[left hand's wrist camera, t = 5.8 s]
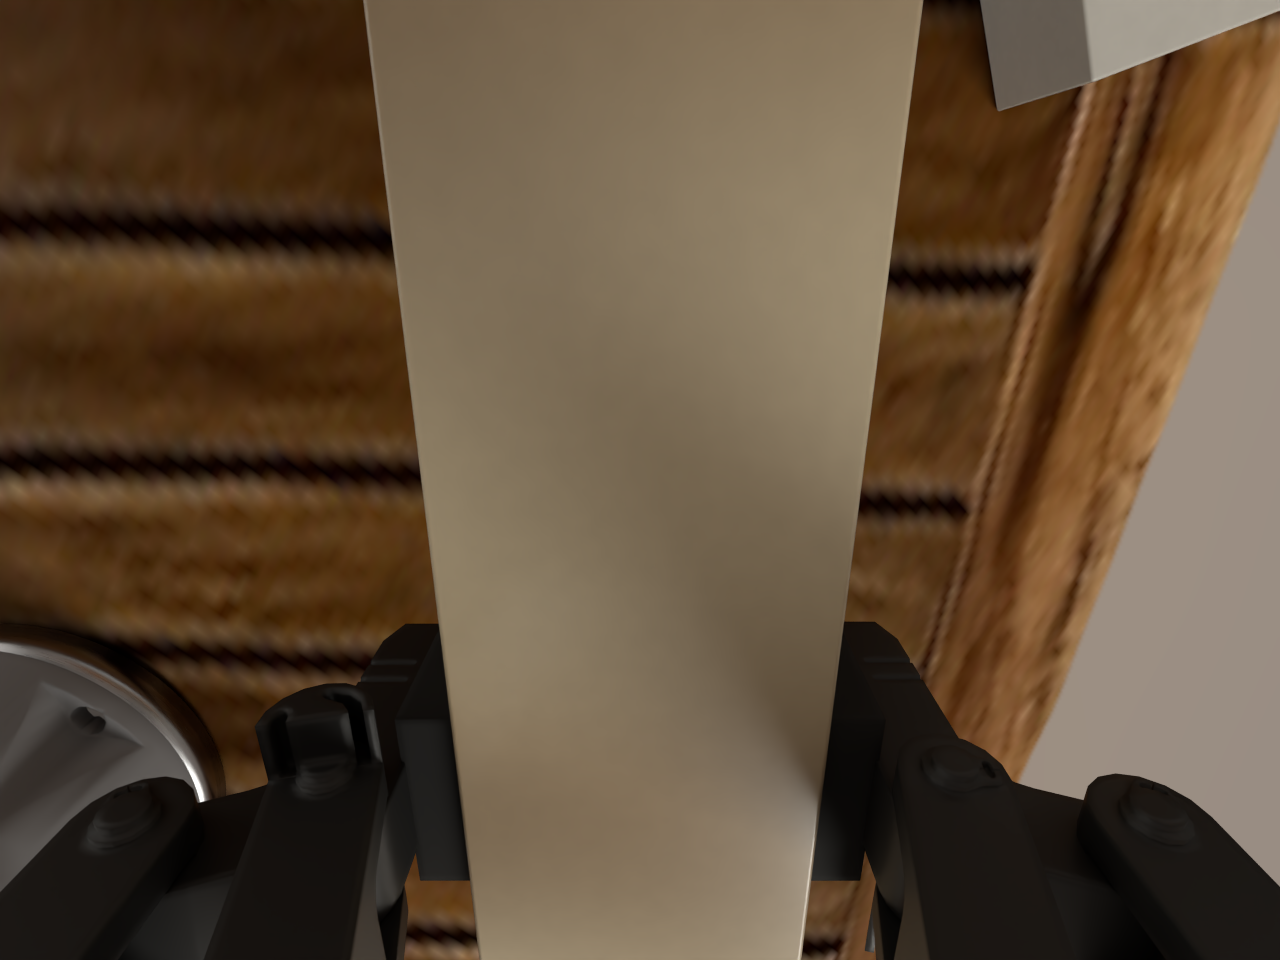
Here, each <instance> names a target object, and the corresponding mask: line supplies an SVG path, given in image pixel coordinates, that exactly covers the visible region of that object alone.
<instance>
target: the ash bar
mask: <svg viewBox="0 0 1280 960" xmlns="http://www.w3.org/2000/svg"><path fill="white" fill-rule="evenodd" d="M363 3H364V12H365V20H366V28H367V36H368V45H369V53H370V61H371V69H372V78H373V86H374V94H375V102H376V111H377V119H378V127H379V135H380V143H381V152H382V160H383V168H384V176H385V185H386V193H387V201H388V209H389V218H390V226H391V234H392V242H393V250H394V259H395V267H396V275H397V283H398V292H399V300H400V308H401V316H402V325H403V333H404V341H405V349H406V357H407V366H408V374H409V382H410V390H411V399H412V407H413V415H414V423H415V432H416V440H417V448H418V456H419V465H420V473H421V481H422V489H423V497H424V506H425V514H426V522H427V530H428V539H429V547H430V555H431V563H432V572H433V580H434V588H435V596H436V604H437V613H438V621H439V629H440V637H441V646H442V654H443V662H444V670H445V679H446V687H447V695H448V703H449V711H450V720H451V728H452V736H453V744H454V753H455V761H456V769H457V777H458V786H459V794H460V802H461V810H462V818H463V827H464V835H465V843H466V851H467V860H468V868H469V876H470V884H471V893H472V901H473V909H474V917H475V926H476V934H477V942H478V950H479V958H480V960H801V956H802V948H803V940H804V932H805V924H806V916H807V909H808V901H809V893H810V885H811V877H812V869H813V861H814V854H815V846H816V838H817V830H818V822H819V814H820V806H821V799H822V791H823V783H824V775H825V767H826V759H827V752H828V744H829V736H830V728H831V720H832V712H833V704H834V697H835V689H836V681H837V673H838V665H839V657H840V649H841V642H842V634H843V626H844V618H845V610H846V602H847V595H848V587H849V579H850V571H851V563H852V555H853V547H854V540H855V532H856V524H857V516H858V508H859V500H860V492H861V485H862V477H863V469H864V461H865V453H866V445H867V438H868V430H869V422H870V414H871V406H872V398H873V390H874V383H875V375H876V367H877V359H878V351H879V343H880V335H881V328H882V320H883V312H884V304H885V296H886V288H887V280H888V273H889V265H890V257H891V249H892V241H893V233H894V226H895V218H896V210H897V202H898V194H899V186H900V178H901V171H902V163H903V155H904V147H905V139H906V131H907V123H908V116H909V108H910V100H911V92H912V84H913V76H914V69H915V61H916V53H917V45H918V37H919V29H920V21H921V14H922V6H923V0H363Z"/></svg>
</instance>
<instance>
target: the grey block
mask: <svg viewBox="0 0 1280 960" xmlns="http://www.w3.org/2000/svg"><path fill="white" fill-rule="evenodd" d="M980 3H981V9H982V16H983V22H984V29H985V35H986V42H987V48H988V55H989V61H990V67H991V74H992V80H993V87H994V93H995V100H996V106H997V110H998V111H1001V110H1005V109H1008V108H1011V107H1014V106H1018V105H1021V104H1024V103H1027V102H1031V101H1034V100H1037V99H1040V98H1043V97H1047V96H1050V95H1053V94H1056V93H1060V92H1063V91H1066V90H1069V89H1073V88H1076V87H1079V86H1082V85H1085V84H1089V83H1092V82H1095V81H1098V80H1100V79H1103V78H1105V77H1108V76H1111V75H1113V74H1116V73H1118V72H1121V71H1124V70H1126V69H1129V68H1131V67H1134V66H1137V65H1139V64H1142V63H1145V62H1147V61H1150V60H1152V59H1155V58H1158V57H1160V56H1163V55H1165V54H1168V53H1171V52H1173V51H1176V50H1178V49H1181V48H1184V47H1186V46H1189V45H1192V44H1194V43H1197V42H1199V41H1202V40H1205V39H1207V38H1210V37H1212V36H1215V35H1218V34H1220V33H1223V32H1225V31H1228V30H1231V29H1233V28H1236V27H1238V26H1241V25H1244V24H1246V23H1249V22H1252V21H1254V20H1257V19H1259V18H1262V17H1265V16H1267V15H1270V14H1272V13H1275V12H1278V11H1280V0H980Z"/></svg>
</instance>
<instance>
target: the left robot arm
mask: <svg viewBox="0 0 1280 960" xmlns="http://www.w3.org/2000/svg"><path fill="white" fill-rule="evenodd" d="M255 729H256V733H257V737H258V741H259V745H260V749H261V753H262V757H263V761H264V765H265V769H266V773H267V777H268V784H267V785H265V786H261V787H258V788H255V789H252V790H249V791H245V792H241V793H237V794H232V795H228V796H226V783H225V775H224V771H223V766H222V763H221V760H220V757H219V754H218V751H217V749H216V747H215V745H214V743H213V741H212V739H211V737H210V735H209V734H208V732H207V730H206V729H205V727H204V726H203V724H202V723H201V722H200V720H199V719H198V717H197V716H196V715H195V713H194V712H193V711H192V710H191V709H190V708H189V707H188V705H187V704H186V703H185V702H184V701H183V700H182V699H181V698H180V697H179V696H178V695H177V694H176V693H175V692H174V691H173V690H172V689H171V688H169V687H168V686H167V685H166V684H165V683H163V682H162V681H161V680H160V679H159V678H157V677H156V676H154V675H153V674H152V673H150V672H149V671H147V670H146V669H145V668H143V667H142V666H140V665H138V664H137V663H135V662H133V661H132V660H130V659H129V658H127V657H125V656H123V655H121V654H119V653H117V652H115V651H113V650H111V649H109V648H107V647H105V646H102V645H100V644H98V643H95V642H93V641H90V640H87V639H85V638H82V637H79V636H76V635H73V634H69V633H65V632H62V631H58V630H54V629H49V628H44V627H39V626H30V625H22V624H0V960H404V952H405V941H406V930H407V919H408V905H407V898H406V892H405V886H404V884H405V881H406V878H407V876H408V873H409V870H410V867H411V864H412V862H413V859H414V856H415V853H416V857H417V863H418V869H419V876H420V880H470V876H469V868H468V860H467V851H466V843H465V835H464V827H463V818H462V810H461V802H460V794H459V786H458V777H457V769H456V761H455V753H454V744H453V736H452V728H451V720H450V711H449V703H448V695H447V687H446V679H445V670H444V662H443V654H442V646H441V637H440V629H439V624H405V625H404V626H402V627H401V628H400V629H398V630H397V631H396V632H394V633H393V634H392V635H391V636H389V637H388V638H387V639H385V640H384V641H383V642H382V644H381V646H380V647H379V649H378V651H377V652H376V654H375V655H374V657H373V659H372V660H371V665H368V667H367V669H366V670H365V672H364V673H363V675H362V677H361V682H358V683H357V685H356V686H354V685H351V684H347V683H333V684H322V685H318V686H314V687H310V688H306V689H303V690H301V691H298V692H296V693H294V694H292V695H290V696H288V697H285V698H283V699H282V700H280V701H279V702H278V703H276V704H275V705H274V706H272V707H271V708H270V709H268V710H267V711H266V712H265V713H264V714H263V716H262V717H261V719H260V720H259V721H258V723H257V724H256V726H255ZM865 852H866V854H867V857H868V860H869V863H870V865H871V868H872V871H873V874H874V877H875V879H876V886H875V892H874V897H873V903H872V909H871V915H870V921H869V926H868V932H867V939H866V946H865V951H868V952H873V953H874V948H875V950H876V960H1280V887H1279V885H1278V884H1277V883H1276V882H1275V881H1274V880H1273V879H1272V878H1271V877H1270V876H1269V875H1268V874H1267V873H1266V872H1265V871H1264V870H1263V869H1262V868H1261V867H1260V866H1259V865H1258V864H1257V863H1256V862H1255V861H1254V860H1253V859H1252V858H1251V857H1250V856H1249V855H1248V854H1247V853H1246V852H1245V851H1244V850H1243V849H1242V848H1241V847H1240V845H1239V844H1238V843H1237V842H1236V841H1235V840H1234V839H1233V838H1232V837H1231V836H1230V835H1229V834H1228V833H1227V832H1226V831H1225V830H1224V829H1223V828H1222V827H1221V826H1220V825H1219V824H1218V823H1217V822H1216V821H1215V820H1214V819H1213V818H1212V817H1211V816H1210V815H1209V814H1207V813H1206V812H1205V811H1204V810H1203V809H1201V808H1200V807H1199V806H1198V805H1196V804H1195V803H1194V802H1193V801H1192V800H1190V799H1188V798H1187V797H1185V796H1183V795H1181V794H1179V793H1178V792H1176V791H1174V790H1172V789H1170V788H1169V787H1167V786H1165V785H1162V784H1159V783H1156V782H1153V781H1150V780H1147V779H1145V778H1142V777H1138V776H1131V775H1123V774H1111V775H1106V776H1100V777H1097V778H1096V779H1095V780H1094V781H1093V782H1092V783H1091V784H1090V785H1089V786H1088V788H1087V791H1086V794H1085V798H1084V800H1081V799H1076V798H1072V797H1068V796H1064V795H1059V794H1055V793H1051V792H1047V791H1043V790H1039V789H1034V788H1031V787H1028V786H1025V785H1021V784H1018V783H1015V782H1013V781H1012V780H1011V779H1010V777H1009V775H1008V774H1007V772H1006V771H1005V769H1004V767H1003V766H1002V764H1001V763H999V762H998V761H997V760H996V759H995V758H994V757H992V756H991V755H990V754H989V753H988V752H987V751H985V750H983V749H981V748H980V747H978V746H976V745H974V744H972V743H970V742H968V741H966V740H963V739H959V738H958V736H957V735H956V733H955V732H954V730H953V728H952V727H951V725H950V723H949V722H948V720H947V719H946V717H945V715H944V714H943V712H942V710H941V709H940V707H939V706H938V704H937V702H936V701H935V699H934V698H933V696H932V694H931V693H930V691H929V689H928V688H927V686H926V685H925V683H924V681H923V680H920V675H919V673H918V672H917V670H916V668H915V667H914V665H913V663H910V659H909V657H908V655H907V654H906V652H905V651H904V649H903V647H902V646H901V644H900V642H899V641H898V639H897V638H895V637H894V636H893V635H892V634H890V633H889V632H888V631H886V630H885V629H884V628H882V627H881V626H880V625H878V624H877V623H876V622H844V626H843V634H842V642H841V649H840V657H839V665H838V673H837V681H836V689H835V697H834V704H833V712H832V720H831V728H830V736H829V744H828V752H827V759H826V767H825V775H824V783H823V791H822V799H821V806H820V814H819V822H818V830H817V838H816V846H815V854H814V861H813V869H812V877H811V881H860V878H861V872H862V866H863V859H864V853H865Z"/></svg>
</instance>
